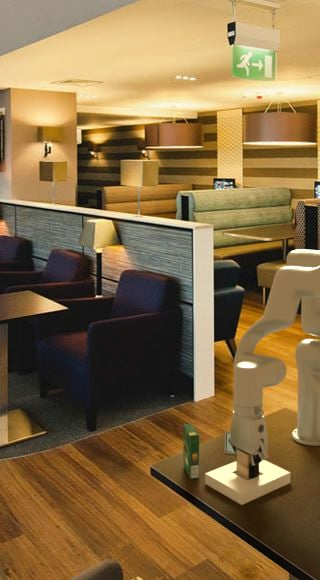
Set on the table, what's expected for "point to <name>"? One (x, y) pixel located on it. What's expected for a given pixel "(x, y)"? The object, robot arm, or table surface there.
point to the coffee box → (191, 451)
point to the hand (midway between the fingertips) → (247, 473)
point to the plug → (243, 464)
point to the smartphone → (228, 445)
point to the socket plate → (245, 490)
